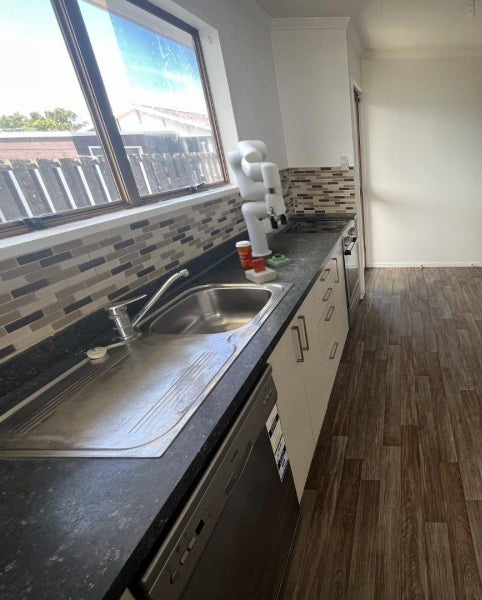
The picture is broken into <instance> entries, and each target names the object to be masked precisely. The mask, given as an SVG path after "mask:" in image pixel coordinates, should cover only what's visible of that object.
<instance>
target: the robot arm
mask: <svg viewBox="0 0 482 600" xmlns="http://www.w3.org/2000/svg"><path fill="white" fill-rule="evenodd" d="M267 156H268V148H267V145H266V143H265V142H264V141H263V140H260V139H259V140H258V139H257V140H256V139H255V140H251V139H250V140H248V139H245V140H241V141H239V142H237V144H236V149H231V150H229V151H228V152H227V161H228V164H229V166H230V168H231V170H232V171H233V173H234V175H235V178H236V182H237V187H238V189H239V190H238V191H239V194H240V197H241V198H242V199H243V200H245V201H251V202H245V203H243V204H242V206H241V212H242V215H243V218H244V220H245V224H246V229H247V232H248V238H249V242H250V243H251V251H252V258H263V257H268V256H270V255H272V254H273V251H272V250H270V249H269V244H268V237H267V233H266V228H265V225H264V224H263V222H261V220H259V219H265V218H268V219H269V222H270V226H271V227H270V228H271V229H272V230H279V223H278V220H277V217H279V221H280V225H282V226H287V225H288V220H287V206H286V205H285V201H284V196H283V189H282V184H281V177H280V171H279V166H278V164H277V163H274V162H270V161H269V162H268V161H267V162H265V160H266V159H267ZM258 180H262V181H258ZM253 200H261V201H253Z"/></svg>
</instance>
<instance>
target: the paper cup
mask: <svg viewBox="0 0 482 600" xmlns="http://www.w3.org/2000/svg"><path fill="white" fill-rule="evenodd" d="M235 243H236V244H235V247H236V249H237V253H238V256H239V259H240V263H241V266H242V269H251V268H253V264H252V261H253V260H254V259H253V258H254V257H252V252H253V251H252V249H251V242H250V240H241V241H238V242H235Z"/></svg>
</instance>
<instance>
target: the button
mask: <svg viewBox="0 0 482 600" xmlns="http://www.w3.org/2000/svg"><path fill="white" fill-rule="evenodd" d="M281 255H282V253H275V254H274V256H275V258H280V257H282V256H281Z"/></svg>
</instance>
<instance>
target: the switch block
mask: <svg viewBox="0 0 482 600" xmlns="http://www.w3.org/2000/svg"><path fill="white" fill-rule="evenodd" d="M281 256H282V257H280V258H275V255H274V256H272V258H270V259H267V260H266V262H267V264H268V265H271V266H273V267H276V268H278V267H282V266H285V265H289V264H291V263H292V260H291V259H290V258H287V257H285V255H283V254H281Z"/></svg>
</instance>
